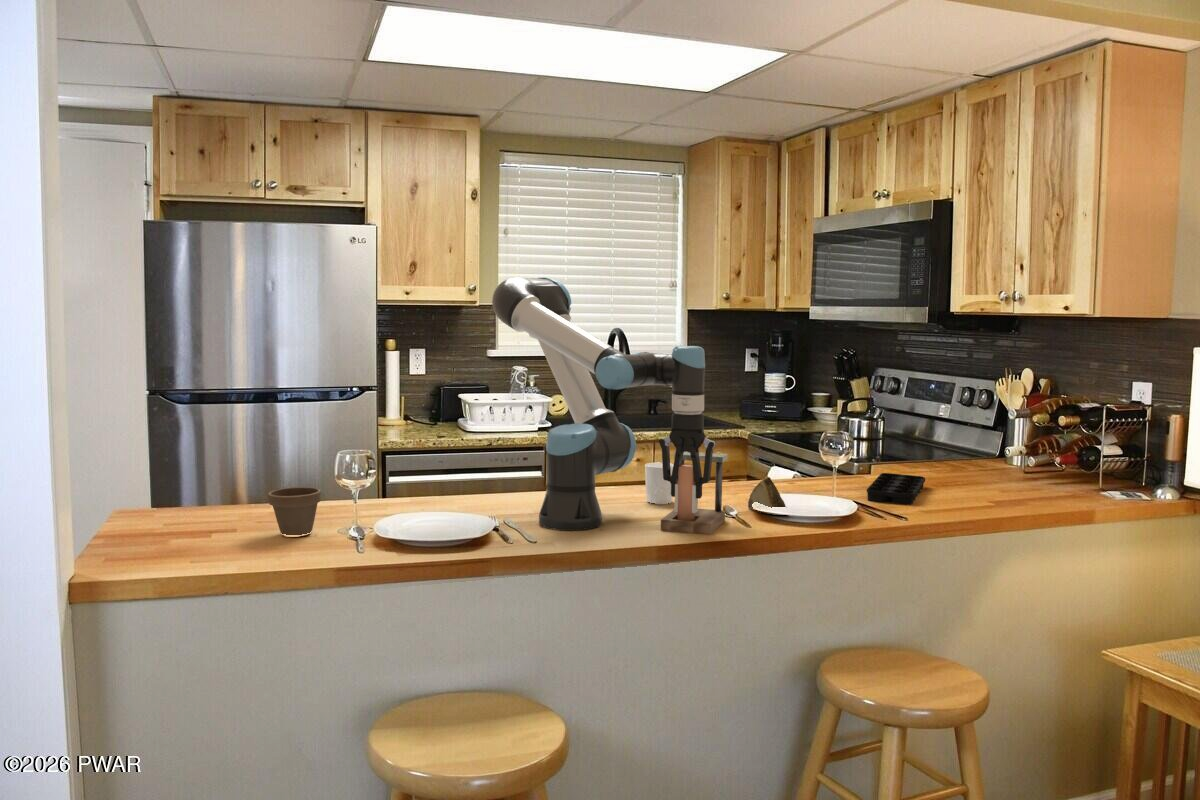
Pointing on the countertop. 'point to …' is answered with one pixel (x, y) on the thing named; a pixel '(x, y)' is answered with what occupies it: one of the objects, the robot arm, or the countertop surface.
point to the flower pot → (295, 508)
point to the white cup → (657, 484)
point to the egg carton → (895, 488)
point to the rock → (766, 495)
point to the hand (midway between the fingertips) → (686, 511)
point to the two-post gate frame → (718, 483)
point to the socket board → (694, 522)
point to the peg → (685, 492)
